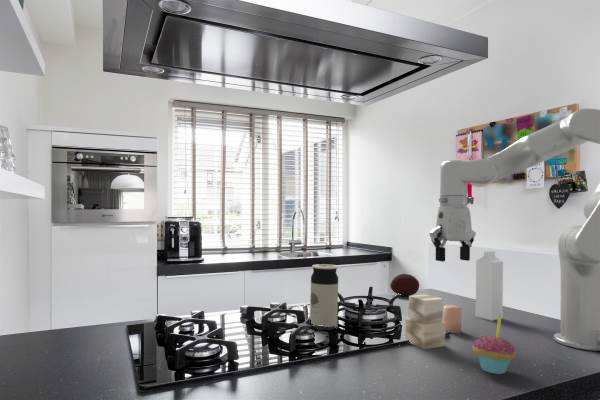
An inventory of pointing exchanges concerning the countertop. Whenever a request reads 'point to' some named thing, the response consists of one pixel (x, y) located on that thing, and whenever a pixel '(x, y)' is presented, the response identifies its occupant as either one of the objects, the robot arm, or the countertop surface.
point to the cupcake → (494, 352)
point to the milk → (489, 287)
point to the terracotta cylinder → (452, 318)
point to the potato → (405, 285)
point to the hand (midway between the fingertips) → (452, 260)
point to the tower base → (425, 334)
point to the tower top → (425, 309)
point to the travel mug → (324, 295)
